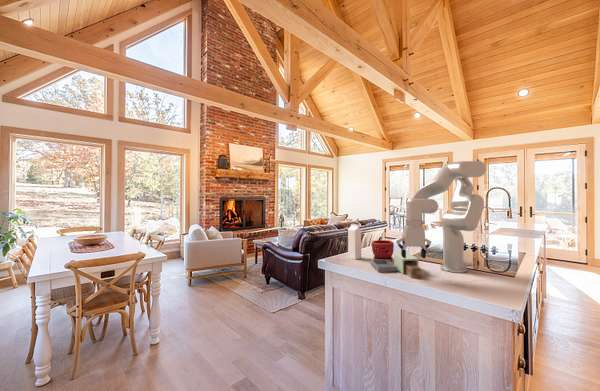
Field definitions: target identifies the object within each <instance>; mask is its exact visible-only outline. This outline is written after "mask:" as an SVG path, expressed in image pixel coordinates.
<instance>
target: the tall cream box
mask: <svg viewBox="0 0 600 391" xmlns="http://www.w3.org/2000/svg"><path fill="white" fill-rule="evenodd" d="M404 263H413V264H415V265H417V266H418V267H420V266H419V258H418V257H416V256H414V255H412V254H410V253H407V252H406V258H403V257H402V255H401V253H393V264H394V265H395V266H397V272H399V273H401V274H402V275H404V274H405V273H404Z"/></svg>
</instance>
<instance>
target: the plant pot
mask: <svg viewBox="0 0 600 391" xmlns="http://www.w3.org/2000/svg"><path fill="white" fill-rule="evenodd" d="M394 243H395V242H394V241H392V240H381V239H379V240H372V241H371V250H372V253H373V260H385V259H387V260H389V261H390V262H392V261H394V256H393V255H394V248H395V247H394V246H395V244H394Z"/></svg>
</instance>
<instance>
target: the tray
mask: <svg viewBox="0 0 600 391" xmlns="http://www.w3.org/2000/svg"><path fill="white" fill-rule="evenodd" d="M370 265H371V267H373V268H374V270H375V271H376V272H378V273H397V272H398V270H397V266H395V265H394V262H392V261H389V260H387V259H385V260H375V259H370Z"/></svg>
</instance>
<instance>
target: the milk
mask: <svg viewBox="0 0 600 391" xmlns="http://www.w3.org/2000/svg"><path fill="white" fill-rule="evenodd" d="M347 244H348V245H347V247H348V249H347V253H348V255H347V256H348V257H347V258H349V259H351V260H358V259H362V229H361V228H360V227H359V225H358V224H354V223H351V224H350V226H349V227H348V229H347Z"/></svg>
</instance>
